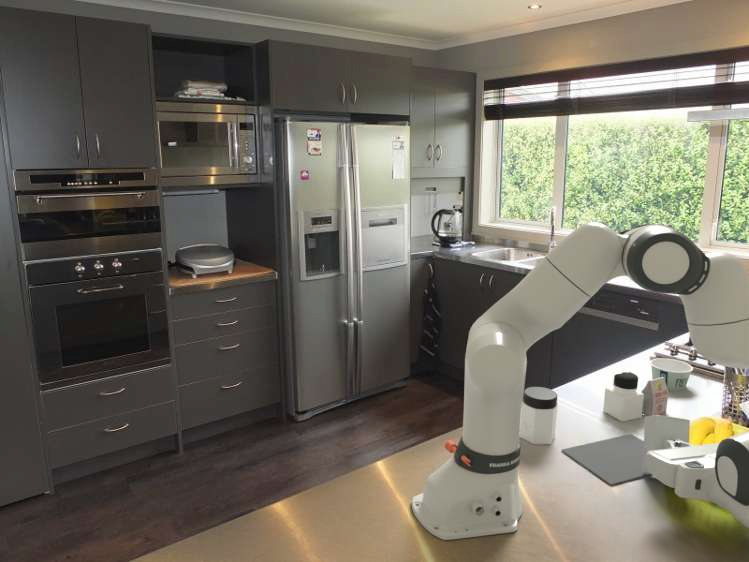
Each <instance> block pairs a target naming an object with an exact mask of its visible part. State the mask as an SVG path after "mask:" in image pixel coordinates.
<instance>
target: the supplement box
mask: <svg viewBox="0 0 749 562" xmlns="http://www.w3.org/2000/svg"><path fill="white" fill-rule="evenodd" d="M690 423H691V420H690V419H686V418H679V417H674V416H669V415H668V416H667V415H663V414H660V415H653V416H645V417H644V431H643V434H644V435H643V441H644V452H643V473H648V474H651V473H650V472H649V471H648V470H647V469H646V467H645V459H646V454H647V452H648V451H652V450H661V449H666V448H665V447H664V442H665V440H673V439H680V440H681V441H683V442H686V443H689V444H690V429H691V428H690Z"/></svg>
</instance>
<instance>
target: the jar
mask: <svg viewBox="0 0 749 562" xmlns="http://www.w3.org/2000/svg"><path fill="white" fill-rule="evenodd" d="M557 415H558V394H557V392H556V391H555V390H553V389H550V388H548V387H542V386H530V387H527V388H524V393H523V400H522V407H521V418H520V433H519V438H521V439H522V440H524V441H526V442H528V443H530V444H532V445H551V444H552V443H553V440H554V439H555V436H556V429H557V427H556V426H557Z"/></svg>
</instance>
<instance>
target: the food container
mask: <svg viewBox="0 0 749 562" xmlns="http://www.w3.org/2000/svg"><path fill="white" fill-rule="evenodd" d="M649 364H650V365H651V376H652V377H651V378H652V379H651V380H653V379H657V378H661V377H665V381H666V386H667V389H670V390H669V391H675V390H678V391H683V390H685V389H686V387H687V384H688V381H689V378H690V375H691V374H692V373H691V372H693V371H694V367H693V366H692V365H691V364H689V363H687V362H684V361H682V360H679V359H673V358H663V357H662V358H660V357H659V358H653V359H651V360H650V361H649Z"/></svg>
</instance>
